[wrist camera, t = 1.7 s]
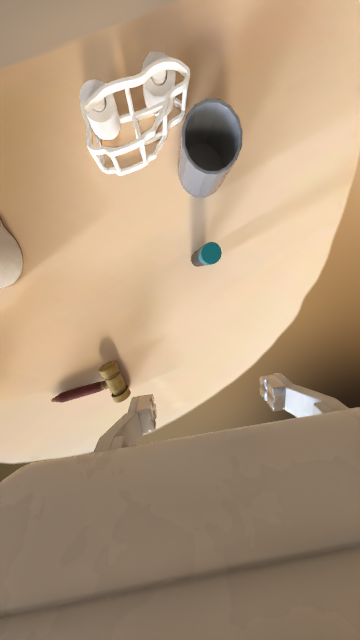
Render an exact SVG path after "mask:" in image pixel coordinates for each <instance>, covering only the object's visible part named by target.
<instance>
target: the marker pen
mask: <svg viewBox="0 0 360 640" xmlns="http://www.w3.org/2000/svg"><path fill="white" fill-rule="evenodd" d="M220 257H221V248H220V246H219V245H218V244H216V243H214V242H209V243H207V244H205V245H204V246H203V247H201V248H200V249H199V250H198V251H196V252H195V253H194V254H193V255H192V257H191V261H192V263H193V265H195V266H203V265H211V264H215V263H216V262H218V261H219V259H220Z"/></svg>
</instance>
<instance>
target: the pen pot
mask: <svg viewBox="0 0 360 640" xmlns="http://www.w3.org/2000/svg"><path fill="white" fill-rule="evenodd" d="M241 147H242V128H241V125H240V121H239V118H238V116H237V114H236V113H235V112H234V110H233V109H232V107H231V106H230V105H228V104H226V103H225V102H223V101H221V100H220V99H205V100H203V101H201V102H199V103H197V104H195V105H194V107H193V108H192V109H191V111H190V112H189V113H188V114H187V116H186V118H185V122H184V125H183V128H182V134H181V143H180V151H179V159H178V176H179V180H180V182H181V185H182V186H183V188H184V189H185V190H186V191H187V192H188V193H189V194H191V195H192V196H195V197H200V198H202V197H207V196H210V195H211V194H213V193H214V192H215V191H216V190H217V189H218V188H219V186H220V185H221V184H222V182H223V181H224V179H225V177H226V176H227V174H228V173H229V171H230V169H231V168H232V166H233V165H234V163H235V161H236V160H237V157H238V155H239V152H240V150H241Z"/></svg>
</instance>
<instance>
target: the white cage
mask: <svg viewBox="0 0 360 640" xmlns="http://www.w3.org/2000/svg"><path fill="white" fill-rule="evenodd" d="M175 71H178V72H179V73H180V74H182V75H183V76H184V81H182V82H181V83H179V84H177V85H175V79H176V73H175ZM189 79H190V69H189V68H188V67H187V66H186V65H185V64H184V63H183V62H182V61H181V60H179V59H176V58H169V57H168V56H167V55H166V54H164V53H163V52H159V51H154V52H151V53H150V54H148V55H147V56H146V58H145V59H144V61H143V64H142V72H141V73H139V74H137V75H135V76H130V77H124V78H121V79H117V80H114V81H112V82H109V83H107V84H105V83H104V82H102V81H101V80H97V79H92V80H88V81H87V82H86V83H84V85H83V86H82V88H81V92H80V103H81V112H82V115H83V117H84V120H85V125H86V133H87V137H86V145H87V147H88V149H89V151H90V153H91V154H92V156H93V158H94V159H95V161H96V162H97V164H98V166H99V167H100V169H101V171H102V172H105V173H107V174H112V173H117V175H120V176H121V175H125V174H128V173H131V172H133V171H136V170H138V169H141V168H142V167H144V166H145V165H148V163H149V162H150V161H152V160H153V159H156V157H157V155H158V152H159V150H160V148H161V147H162V146H163V144H164V143H165V141H166V138H167V135H168V131H169V129H170V128H171V127H172V126H174V125H176V124H178V123H179V122H181V121H182V120H183V118H184V116H185V109H186V99H187V90H188V85H189ZM141 84H143V92H144V99H145V104H146V106H147V107H146V108H144V109H142V110H140V111H135V112H134V109H133V104H132V99H131V94H130V89H129V88H133V87H137V86H139V85H141ZM123 89H125V93H126V98H127V102H128V107H129V111H130V113H127V114H124V115H121V116H119V113H118V110H117V106H116V103H115V99H114V96H113V93H114V92H117V91H120V90H123ZM182 92H183V94H182V101H180V100H179V99H178V98H176V97H175V96H176V95H178V94H180V93H182ZM173 106H176V107H177V108H179V109H180V110H181V114H180V115H178V116H176V117H174V118H173V119H171V120H170V121H169V122H168V123H167V115H168V114H169V113H170V112H171V110H172V109H173ZM153 115H155V116H157V117H156V119H155V121H154V124H153V127H152V128H151V129H149V130H148V131H146V132H144V133H143V135H141V132H140V129H139V123H138V122H139V121H141V120H144V119H146V118H148V117H151V116H153ZM132 120H133V124H134V128H135V131H136V136H137V139H136V140H134V141H132V142H130V143H128V144H125V145H122V146H120V147H117V148H113V147H106V146H101V143H100V141H101V140H102V139H104V140H112V139H114V138H115V137H117V135H118V134H119V132H120V128H121V124H123V123H125V122H128V121H132ZM162 120H163V131H161V132H159V133H156V131H157V128H158V126H159V125H160V123H161V122H162ZM91 127H92V129H93V131H94V132H95V134H96V142H97V144H98V147H93V146H92V143H93V137H92V130H91ZM160 139H161V140H160ZM157 140H160V141H159V143H158V144H157V146H156V148H155V152H154V153H152V154H150V155H148V156H147V157H146V151H145V145H148V144H150V143H153V142H155V141H157ZM136 148H139V152H140V154H141V157H142V159H143V161H141V162H139V163H137V164H135V165H132V166H130V167H127V168H124V169H123V168H120V166H119V164H118V162H117V159H116V157H115V156H118V155H121V154H124V153H126V152H129V151H131V150H134V149H136ZM104 154H107V155H108V156H110V157H111V159H112V161H113V163H114V165H115V167H111V168H105V167H104V163H105V160H104ZM97 155H100V159H99V157H98V156H97Z"/></svg>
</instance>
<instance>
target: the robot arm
mask: <svg viewBox="0 0 360 640" xmlns="http://www.w3.org/2000/svg"><path fill="white" fill-rule="evenodd" d="M22 268H23V258H22V253H21V250H20V248H19V246H18V244H17V242H16V241H15V239H14V238H13V237H12V235H11V234H10V233H9V232H8V231H7V230H6V229H5V228H4V226H3V224H2V222H1V219H0V289H1V288H5V287H8V286H10V285H12V284H13V283H14V282H15V281H16V280H17V279H18V278H19V276H20V274H21V272H22ZM260 383H261V386H260V393H261V395H262V397H263V399H264V400H266V401H268V405H269V406H270V408H271V409H272V410H273V411H277V410H286V411H288V412H290V413H291V414H293V415H294V416H296V417H298V418H293V419H287V420H281V421H276V422H270V423H264V424H258V425H253V426H247V427H241V428H235V429H229V430H223V431H218V432H212V433H206V434H201V435H195V436H188V437H183V438H177V439H171V440H165V441H159V442H153V443H148V444H142V445H136V444H137V443H138V441H139V440H140V438H141V436H142V435H143V434H144V433H149V432H154V431H155V426H156V422H155V419H156V405H155V403H154V396H153V394H151V395H143V396H137V397H133V398H132V400H131V403H130V407H129V410H128V413H126V414H125V415H124V416H123V417H121V418H120V419H119V420H118V421H117V422H116V423H115V424H114V425H113V426H112V427H111V428H110V429H109V430H108V431H107V432H106V433H105V434H104V435H103V436H101V437H100V438H99V441H98V443H97V445H96V448H95V450H94V452H93V453H89V454H84V455H78V456H72V457H66V458H60V459H55V460H49V461H42V462H35V463H31V464H28V465H25V466H23V467H22V468H20V469H19V470H17V471H16V472H14V473H13V474H11V475H10V476H8V477H7V478H6V479H4V480H3V481H2V482H0V640H360V407H357V408H352V409H349V408H348V407H346V406H345V405H344V404H342V403H341V402H340V401H338V400H336V399H335V398H333V397H330V396H327V395H324V394H321V393H318V392H315V391H312V390H309V389H307V388H304V387H301V386H298V385H294V384H293V383H291V382H290V381H289V380H288V379H287V378H285V377H284V376H283V375H282V374H281V373H277V374H273V375H268V376H262V377H260Z"/></svg>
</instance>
